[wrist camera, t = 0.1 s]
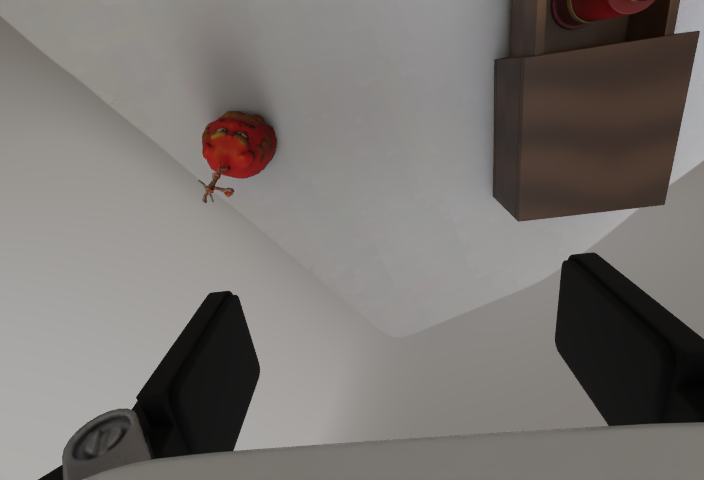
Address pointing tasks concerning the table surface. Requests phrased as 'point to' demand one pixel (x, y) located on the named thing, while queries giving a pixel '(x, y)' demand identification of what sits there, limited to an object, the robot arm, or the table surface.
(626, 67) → the cabinet
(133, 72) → the table surface
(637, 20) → the drawer
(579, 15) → the red cylinder
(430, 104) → the table surface
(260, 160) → the red clay folk toy
